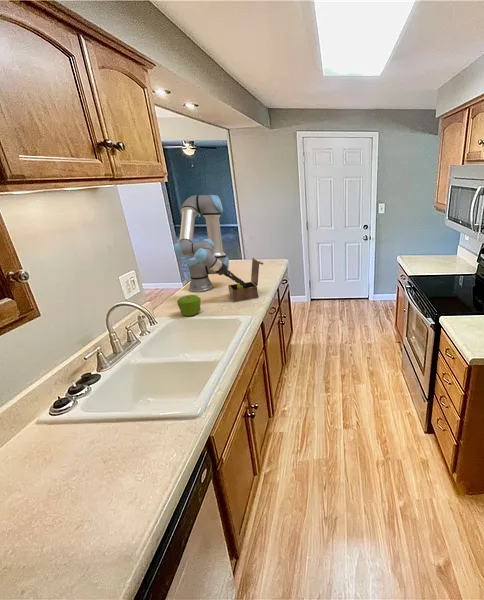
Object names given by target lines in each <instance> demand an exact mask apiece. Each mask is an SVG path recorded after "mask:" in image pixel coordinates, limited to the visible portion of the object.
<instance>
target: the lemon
mask: <svg viewBox="0 0 484 600" xmlns="http://www.w3.org/2000/svg"><path fill="white" fill-rule="evenodd" d="M239 279H241V278H239ZM241 280H242V279H241ZM236 284H237V289H244V288H245V287H243V286H242V285H240V284H239V283H236Z"/></svg>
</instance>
